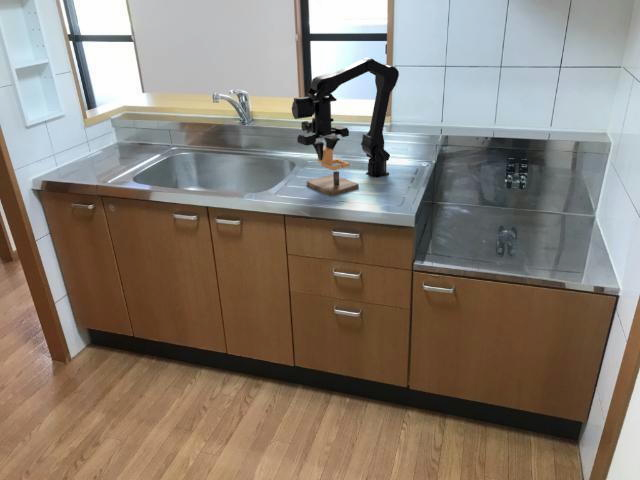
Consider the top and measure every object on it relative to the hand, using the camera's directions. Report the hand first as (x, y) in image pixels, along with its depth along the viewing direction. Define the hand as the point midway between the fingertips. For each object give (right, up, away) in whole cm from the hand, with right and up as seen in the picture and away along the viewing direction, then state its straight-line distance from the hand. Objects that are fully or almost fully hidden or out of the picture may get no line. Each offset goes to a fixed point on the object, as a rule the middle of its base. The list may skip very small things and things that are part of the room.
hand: (324, 159), depth 184 cm
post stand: (+3, -10, +1) cm, 10 cm away
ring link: (+2, -2, -3) cm, 4 cm away
